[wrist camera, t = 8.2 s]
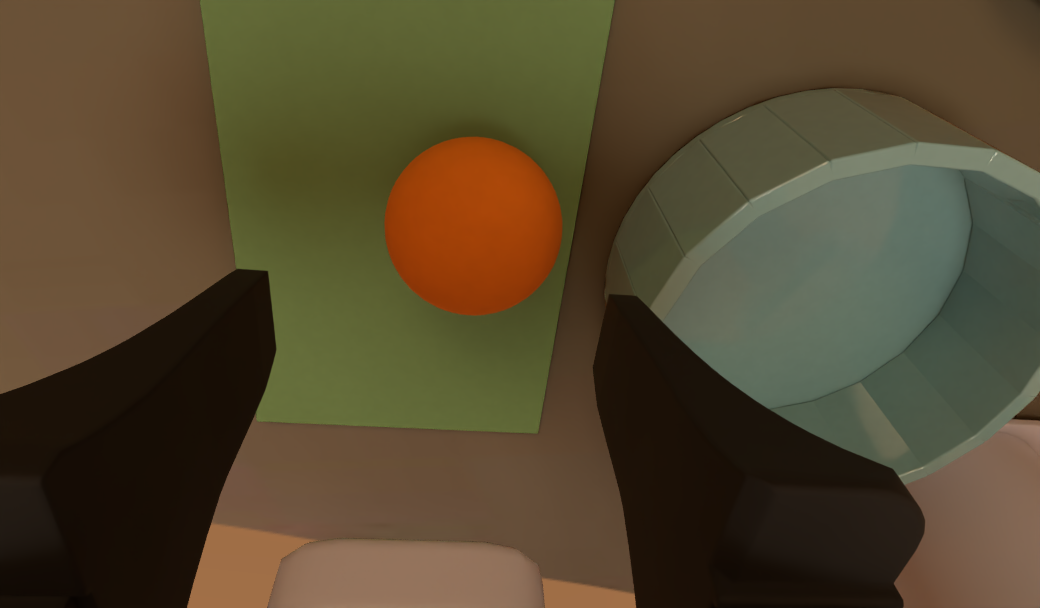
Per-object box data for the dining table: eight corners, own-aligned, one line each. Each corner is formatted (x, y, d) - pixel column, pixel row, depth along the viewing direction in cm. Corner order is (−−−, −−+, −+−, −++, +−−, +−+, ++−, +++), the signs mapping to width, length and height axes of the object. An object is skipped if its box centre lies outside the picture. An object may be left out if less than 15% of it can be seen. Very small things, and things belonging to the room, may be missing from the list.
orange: (500, 241, 23) (577, 328, 20) (360, 267, 21) (422, 370, 18) (519, 102, 20) (614, 178, 17) (358, 114, 18) (432, 205, 15)
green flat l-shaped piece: (537, 428, 27) (538, 434, 27) (258, 416, 26) (256, 421, 26) (660, -272, 15) (664, -274, 15) (156, -355, 14) (150, -359, 14)
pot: (884, 419, 28) (954, 514, 24) (576, 404, 27) (594, 502, 23) (1057, 109, 21) (1199, 169, 17) (649, 65, 20) (695, 120, 15)
